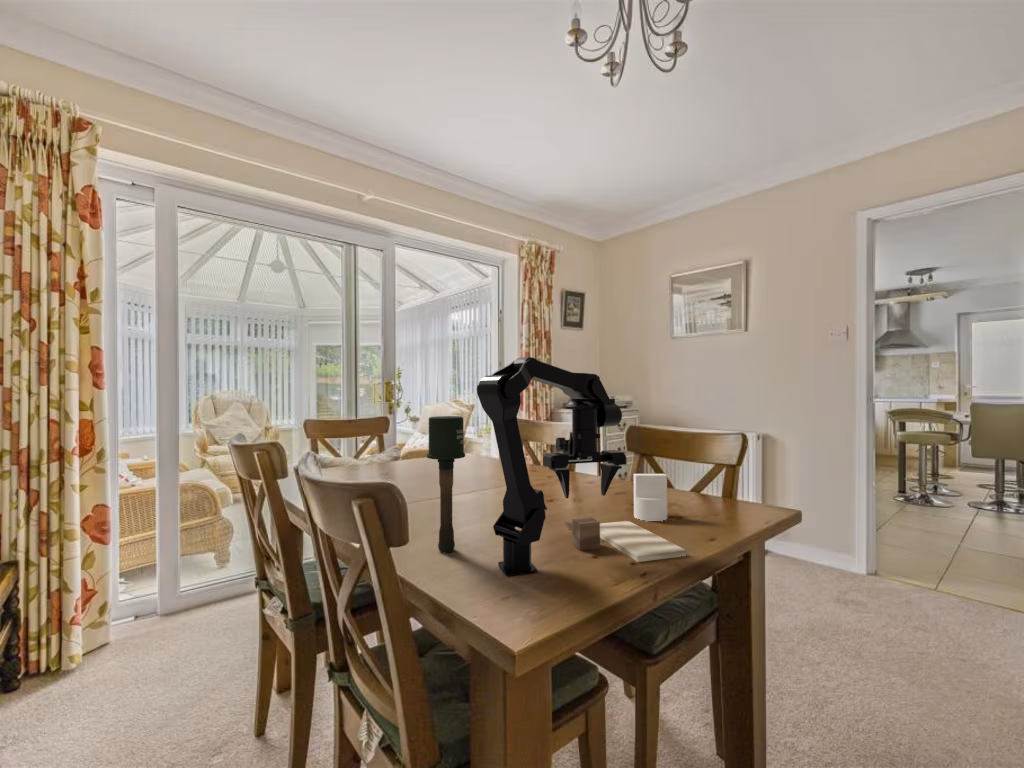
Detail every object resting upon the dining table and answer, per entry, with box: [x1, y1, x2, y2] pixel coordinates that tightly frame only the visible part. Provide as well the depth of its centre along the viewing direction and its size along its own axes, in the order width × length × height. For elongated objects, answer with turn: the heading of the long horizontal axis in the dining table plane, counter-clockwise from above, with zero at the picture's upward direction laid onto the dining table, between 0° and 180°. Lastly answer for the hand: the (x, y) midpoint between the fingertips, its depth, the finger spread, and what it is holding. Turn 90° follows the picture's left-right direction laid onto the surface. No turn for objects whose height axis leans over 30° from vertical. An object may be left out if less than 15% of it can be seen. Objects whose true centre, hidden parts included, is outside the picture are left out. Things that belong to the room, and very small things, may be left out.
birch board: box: [600, 520, 688, 563], centre depth 111 cm, size 24×12×1 cm, turn 17°
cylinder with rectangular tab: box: [633, 473, 668, 522], centre depth 131 cm, size 9×9×12 cm
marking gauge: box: [564, 517, 601, 551], centre depth 111 cm, size 12×5×6 cm, turn 17°
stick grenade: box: [426, 415, 466, 553], centre depth 105 cm, size 8×9×30 cm
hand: (585, 496), depth 107 cm, fingers open, 9 cm apart
